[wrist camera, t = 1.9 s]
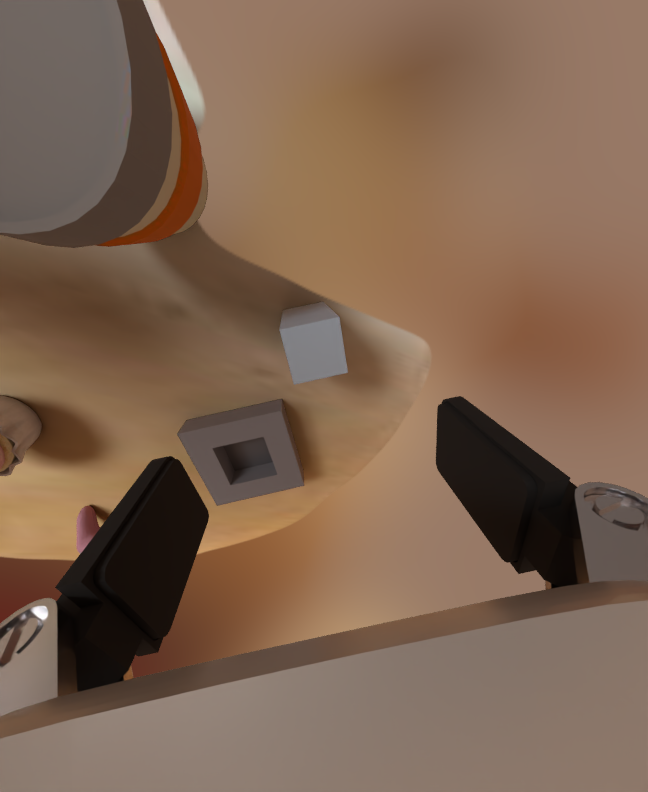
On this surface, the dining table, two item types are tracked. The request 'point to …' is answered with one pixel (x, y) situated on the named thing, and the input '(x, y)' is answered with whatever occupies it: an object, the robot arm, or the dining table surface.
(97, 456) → the dining table surface
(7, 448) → the cupcake
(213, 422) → the socket
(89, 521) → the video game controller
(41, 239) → the reusable coffee cup
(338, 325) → the plug
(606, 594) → the robot arm
